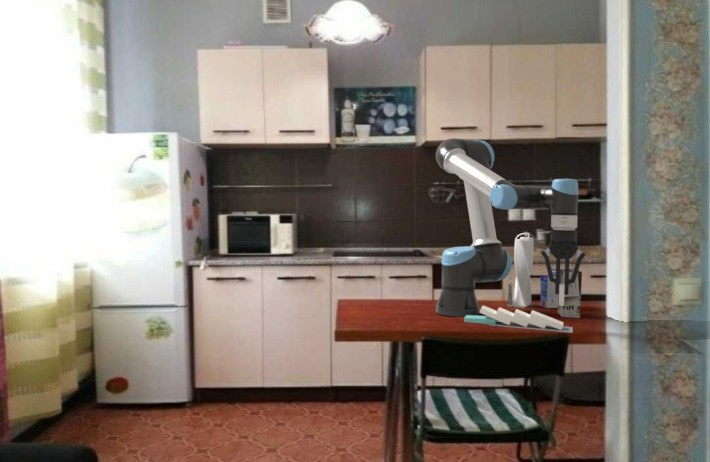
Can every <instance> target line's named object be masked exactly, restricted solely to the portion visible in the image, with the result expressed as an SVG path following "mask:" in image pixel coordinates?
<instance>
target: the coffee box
mask: <svg viewBox="0 0 710 462" xmlns="http://www.w3.org/2000/svg"><path fill="white" fill-rule="evenodd" d="M573 271H574V268H569V279H571V277H572V274H573ZM582 279H583V271H581V270H580V269H579V270H578V273H577V277H576V280H575V282H574V283H571V284H569V289H568V295H564V306H559V294H558V308H557V313H558V315H559V316H560V317H562V318H572V319H573V318H574V319H580V318H581V307H582V305H581V304H582V281H583V280H582ZM560 283H561V284H564V283H565V268H560Z"/></svg>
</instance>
